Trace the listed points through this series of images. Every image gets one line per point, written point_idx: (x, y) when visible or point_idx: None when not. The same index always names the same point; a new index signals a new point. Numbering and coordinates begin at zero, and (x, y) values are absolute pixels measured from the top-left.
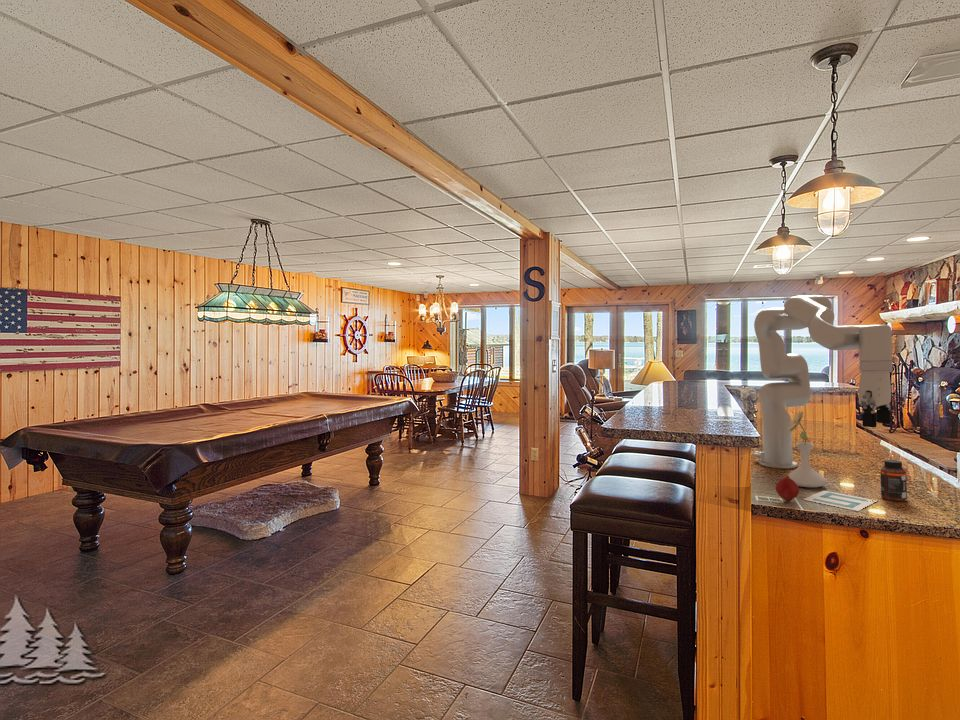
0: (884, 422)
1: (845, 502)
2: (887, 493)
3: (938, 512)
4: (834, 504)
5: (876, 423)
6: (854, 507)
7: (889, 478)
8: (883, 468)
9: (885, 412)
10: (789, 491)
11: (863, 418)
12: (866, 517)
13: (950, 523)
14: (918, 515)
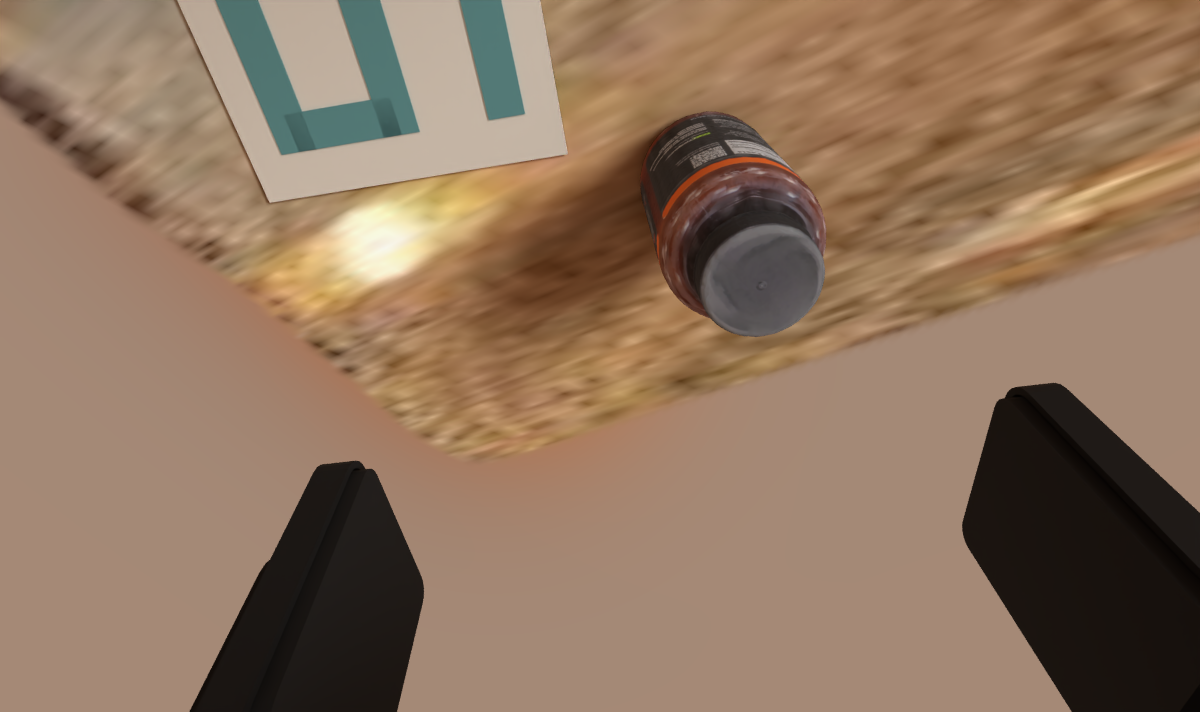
0: (981, 491)
1: (347, 64)
2: (644, 185)
3: (622, 383)
4: (236, 51)
5: (404, 647)
6: (307, 156)
7: (654, 239)
8: (689, 215)
9: (1115, 700)
10: None
11: (265, 603)
12: (231, 271)
13: (500, 458)
14: (497, 365)
